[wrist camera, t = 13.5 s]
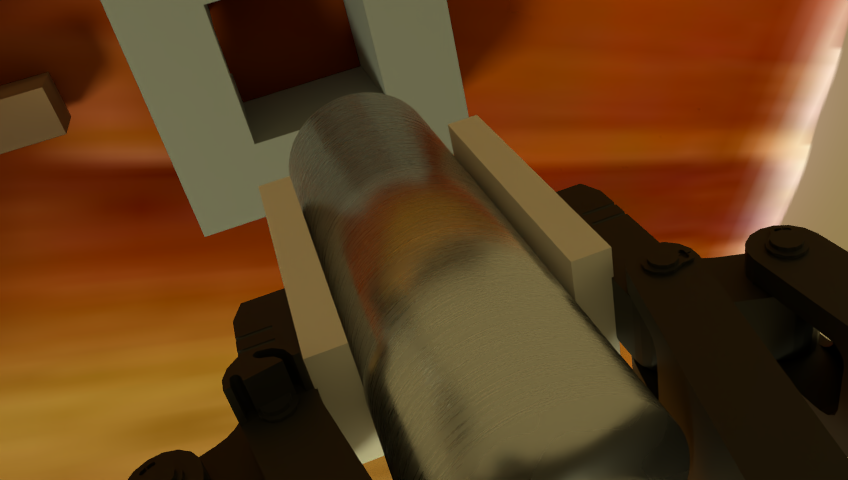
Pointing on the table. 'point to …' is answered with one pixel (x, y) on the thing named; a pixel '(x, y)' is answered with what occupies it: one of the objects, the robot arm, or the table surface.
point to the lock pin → (31, 112)
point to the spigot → (463, 316)
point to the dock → (278, 112)
